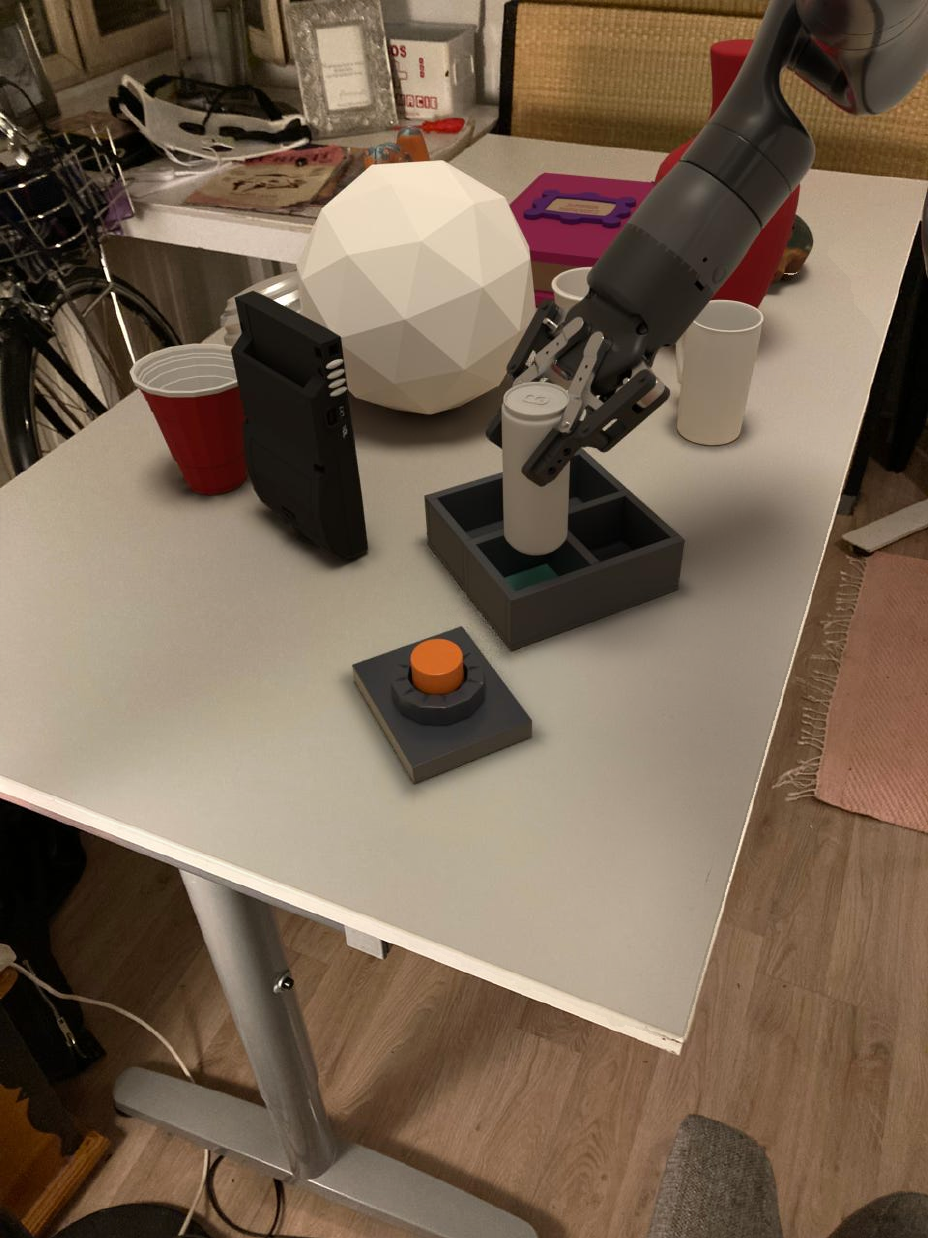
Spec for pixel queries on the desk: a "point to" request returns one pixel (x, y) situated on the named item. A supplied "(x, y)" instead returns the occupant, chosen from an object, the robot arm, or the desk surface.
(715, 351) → the mug
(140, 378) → the plastic cup
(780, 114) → the robot arm
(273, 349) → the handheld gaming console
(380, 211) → the lamp
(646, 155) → the desk surface
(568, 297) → the dixie cup
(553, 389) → the beverage can
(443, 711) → the panel
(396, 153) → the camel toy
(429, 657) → the button
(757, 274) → the vase
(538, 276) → the book
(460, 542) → the divided tray
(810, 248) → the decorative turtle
